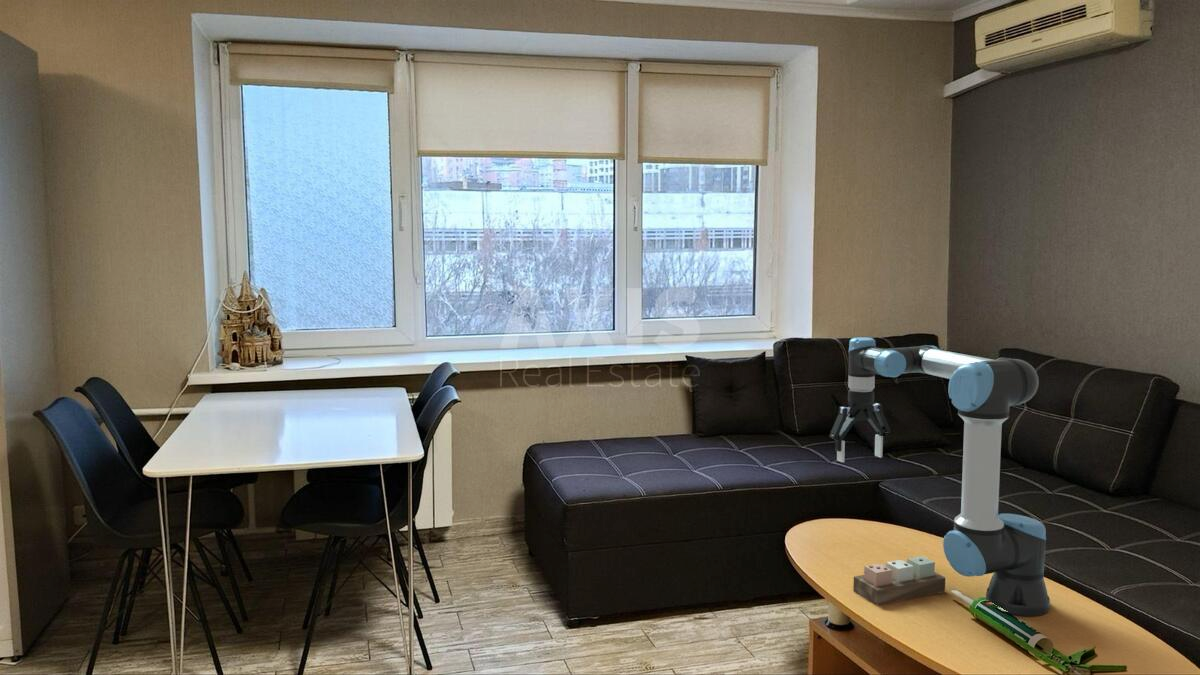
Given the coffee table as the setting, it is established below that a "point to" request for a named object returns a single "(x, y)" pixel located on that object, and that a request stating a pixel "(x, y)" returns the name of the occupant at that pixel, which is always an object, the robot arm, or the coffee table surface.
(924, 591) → the board
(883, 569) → the tile three
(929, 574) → the tile one
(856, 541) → the coffee table surface
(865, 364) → the robot arm
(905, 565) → the tile two
